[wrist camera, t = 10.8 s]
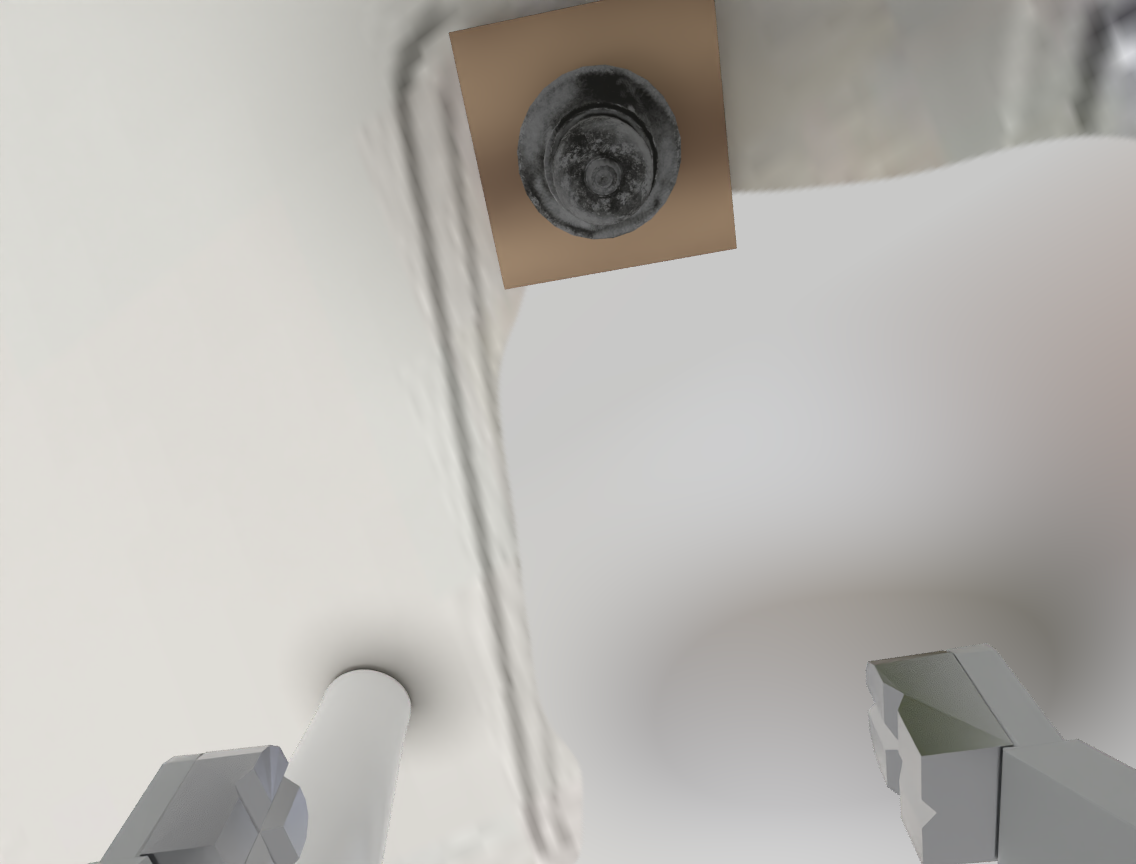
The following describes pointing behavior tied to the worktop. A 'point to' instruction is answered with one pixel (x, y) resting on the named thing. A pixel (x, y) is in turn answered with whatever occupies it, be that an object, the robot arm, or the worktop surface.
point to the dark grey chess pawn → (599, 152)
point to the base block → (587, 38)
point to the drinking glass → (351, 768)
